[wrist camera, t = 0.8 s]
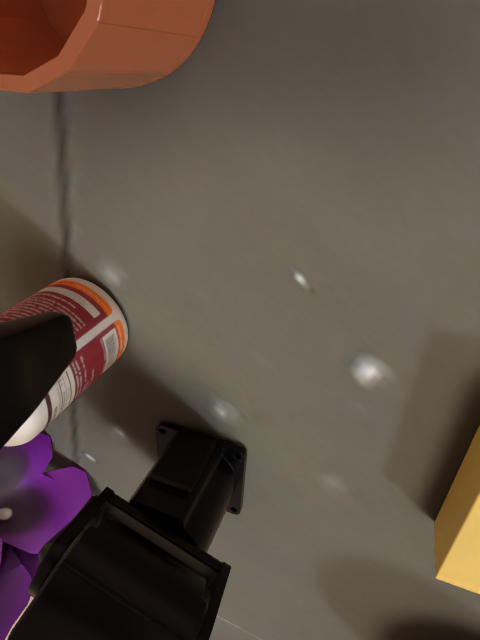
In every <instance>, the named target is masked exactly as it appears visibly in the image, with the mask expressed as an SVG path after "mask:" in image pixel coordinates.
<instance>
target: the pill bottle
mask: <svg viewBox="0 0 480 640" xmlns="http://www.w3.org/2000/svg"><path fill="white" fill-rule="evenodd" d="M49 311H54V312H59V313H63V314H67V315H68V316H70V318H71V319H72V322H73V327H74V333H75V338H76V344H77V351H76V355H75V357H74V359H73V360H72V361H71V363H70V364H69V365H68V367H67V368H66V370H65V371H64V372H63V374H62V375H61V376H60V378H59V379H58V380H57V382H56V383H55V385H54V386H53V387H52V389H51V390H50V391H49V393H48V394H47V395H46V397H45V398H44V400H43V401H42V402H41V404H40V405H39V406H38V407H37V409H36V410H35V411H34V412H33V414H32V415H31V416H30V417H29V418H28V420H27V421H26V422H25V423H24V424H23V425H22V426H21V427H20V429H19V430H18V431H17V432H16V433H15V434H14V435H13V436H12V438H11V439H10V440H9V441H8V442H7V443H6V444H5V445H4V446H17V445H22V444H24V443H27V442H29V441H30V440H32V439H33V438H35V437H36V436H37V435H38V434H39V433H40V432H41V431H42V430H43V429H45V428H46V427H47V426H48V425H49V424H50V423H51V422H52V421H53V420H54V419H55V418H56V417H57V416H58V415H59V414H60V413H61V412H62V411H64V410H65V409H66V408H67V407H68V406H69V405H70V404H71V403H72V402H73V401H74V400H75V399H76V398H77V397H78V396H79V395H80V394H82V393H83V392H84V391H85V390H86V389H87V388H88V387H89V386H90V385H91V384H92V383H93V382H94V381H95V380H96V379H97V378H98V377H100V376H101V375H102V374H103V373H104V372H105V371H106V370H107V369H108V368H109V367H110V366H111V365H112V364H113V363H114V362H115V361H116V360H117V359H118V358H119V357H120V356H121V355H122V353H123V352H124V350H125V348H126V345H127V341H128V328H127V324H126V321H125V318H124V316H123V314H122V312H121V310H120V308H119V307H118V305H117V304H116V303H115V301H114V300H113V299H112V298H111V297H110V296H109V295H108V294H107V293H106V292H105V291H104V290H102V289H101V288H99V287H98V286H97V285H95V284H93V283H91V282H89V281H86V280H83V279H80V278H64V279H60V280H58V281H56V282H54V283H52V284H50V285H48V286H47V287H45V288H43V289H42V290H40V291H38V292H37V293H35V294H33V295H31V296H29V297H28V298H26V299H24V300H23V301H21V302H19V303H18V304H16V305H14V306H12V307H11V308H9V309H7V310H6V311H4V312H2V313H0V322H4V321H9V320H13V319H18V318H22V317H27V316H31V315H36V314H40V313H45V312H49Z"/></svg>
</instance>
